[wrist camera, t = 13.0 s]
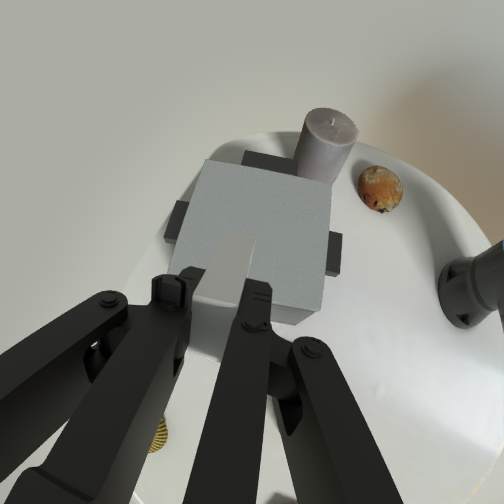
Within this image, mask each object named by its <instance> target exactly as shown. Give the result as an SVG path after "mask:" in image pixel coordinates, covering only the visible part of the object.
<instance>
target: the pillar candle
mask: <svg viewBox="0 0 504 504" xmlns="http://www.w3.org/2000/svg"><path fill="white" fill-rule="evenodd" d="M358 133H359V131H358V129H357V128H356V126H355V124H354V123H353V121H352V120H351V119H350V118H348V117H347V116H346V115H345V114H343V113H341V112H339V111H337V110H333V109H330V108H317V109H313V110H312V111H310V112H309V113H308V114H307V116H306V118H305V121H304V124H303V128H302V132H301V135H300V138H299V142H298V145H297V148H296V152H295V155H294V158H293V160H296V161H299V163H298V170H297V177H301V178H306V179H310V180H314V181H318V182H323V183H327V184H331V185H332V184H333V183H334V181H335V180H336V178H337V176H338V174H339V172H340V170H341V168H342V167H343V165H344V163H345V161H346V159H347V157H348V155H349V153H350V151H351V149H352V147H353V145H354V143H355V141H356V139H357V137H358Z"/></svg>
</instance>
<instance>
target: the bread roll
mask: <svg viewBox="0 0 504 504" xmlns="http://www.w3.org/2000/svg"><path fill="white" fill-rule="evenodd" d="M358 187H359V194H360V197H361V199H362V200H363V202H364V203H365V204H366V205H367V206H368V207H369V208H371V209H373V210H376V211H378V212H380V213H383V212H389V211H391V210H392V209H393V208H395V207H396V206H397V205H399V202H400V200H401V198H402V194H403V188H402V183H401V182H400V180H399V179H398V177H397V176H396V175H395V174H394V173H393V172H391V171H390V170H388V169H386V168H384V167H380V166H373V167H370V168H367V169H366V170H364V171H363V172H362V174H361V176H360V178H359V182H358Z"/></svg>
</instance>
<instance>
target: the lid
mask: <svg viewBox="0 0 504 504" xmlns="http://www.w3.org/2000/svg"><path fill="white" fill-rule="evenodd" d="M298 163H299V161H296V160H292V159H287V158H283V157H278V156H273V155H268V154H263V153H258V152H252V151H247V150H245V153H244V156H243V160H242V163H241V165H237V164H231V163H225V162H219V161H213V160H207V159H206V160H205V162H204V165H203V167H202V170H201V173H200V175H199V178H198V181H197V183H196V186H195V189H194V192H193V195H192V197H191V200H190V203H189V206H188V209H187V212H186V215H185V218H184V221H183V224H182V227H181V230H180V233H179V236H178V239H177V242H176V245H175V249H174V252H173V255H172V258H171V262H170V265H169V268H168V272H167V274H172V275H179V274H180V272H181V271H182V270H183V269H185V268H187V267H189V266H193V267H197V268H201V269H206V270H207V268H208V266H209V264H210V263H211V261H212V259H213V257H214V255H215V254H216V252H217V250H218V248H219V247H220V245H221V243H222V241H223V240H224V238H225V236H226V234H227V233H228V232H231V233H236V234H241V235H245V236H250V237H255V238H256V240H255V244H254V249H253V254H252V259H251V263H250V268H249V273H248V277H247V278H249V279H254V280H259V281H263V282H268V283H269V284H270V286H271V288H272V289H273V291H272V304H277V305H283V306H288V307H293V308H299V309H304V310H310V311H316V312H318V311H320V310H321V303H322V295H323V287H324V278H325V269H326V259H327V248H328V236H329V223H330V209H331V191H332V185H331V184H327V183H323V182H318V181H314V180H310V179H306V178H301V177H297V170H298Z"/></svg>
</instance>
